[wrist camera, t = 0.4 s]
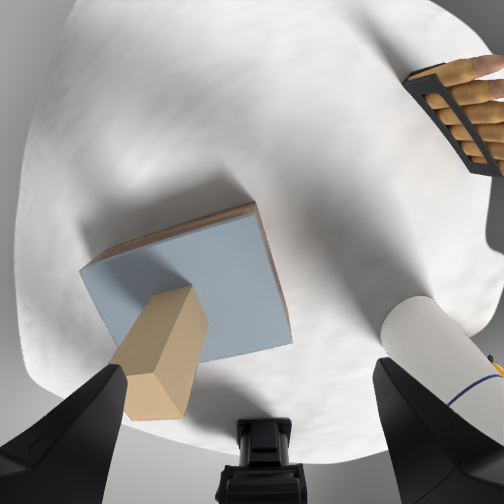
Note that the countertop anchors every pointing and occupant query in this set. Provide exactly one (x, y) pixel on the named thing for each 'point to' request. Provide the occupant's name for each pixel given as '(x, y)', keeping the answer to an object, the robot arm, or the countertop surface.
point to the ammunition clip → (465, 109)
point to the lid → (186, 310)
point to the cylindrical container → (446, 362)
